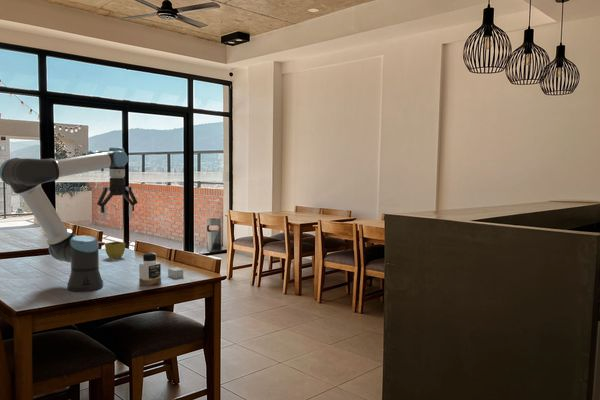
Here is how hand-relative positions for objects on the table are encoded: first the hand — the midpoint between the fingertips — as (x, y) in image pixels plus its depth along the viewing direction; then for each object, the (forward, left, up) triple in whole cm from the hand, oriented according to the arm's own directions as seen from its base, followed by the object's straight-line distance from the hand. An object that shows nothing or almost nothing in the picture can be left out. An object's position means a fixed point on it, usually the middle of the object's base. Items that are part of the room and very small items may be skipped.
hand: (117, 218), depth 249 cm
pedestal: (-13, -29, -29) cm, 43 cm away
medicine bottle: (-13, -29, -26) cm, 41 cm away
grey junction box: (+4, -32, -29) cm, 43 cm away
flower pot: (+31, +28, -29) cm, 51 cm away
